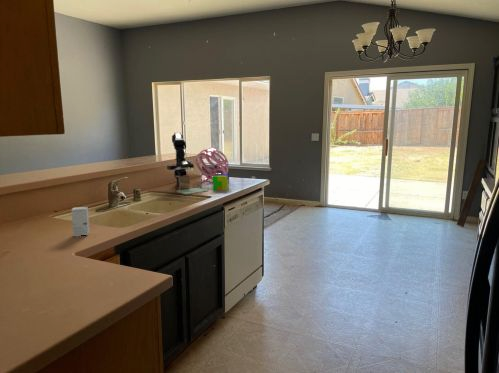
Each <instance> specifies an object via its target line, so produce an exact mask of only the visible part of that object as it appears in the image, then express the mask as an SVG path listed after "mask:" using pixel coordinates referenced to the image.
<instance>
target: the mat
mask: <svg viewBox="0 0 499 373" xmlns="http://www.w3.org/2000/svg"><path fill="white" fill-rule="evenodd" d="M175 192H177V193H180V194H182V195H185V196H187V195H192V193H193V194H197V193H198V194H199V193H206V192H209V189H204V188H201V187H194V188H190V189H185V190H179V189H178V190H176V191H175Z"/></svg>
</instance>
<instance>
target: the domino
mask: <svg viewBox="0 0 499 373" xmlns="http://www.w3.org/2000/svg"><path fill="white" fill-rule="evenodd" d="M178 178H179V186H178V190H185V189H191V186H190V185H191V183H190V175H189V174H186V175H184V176H178Z"/></svg>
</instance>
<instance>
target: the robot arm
mask: <svg viewBox="0 0 499 373" xmlns="http://www.w3.org/2000/svg"><path fill="white" fill-rule="evenodd" d="M171 141H172V144H173V145H172V146H173V148H174V150H175V165H174V164H168V165H167V166H166V169H167V170H170V171H173V174H174V176H173V177H174V179H176V181H175V182H176V183H175V184H174V186H178V187H179V178H178V176H184V175H187V169H188V168H190V169H193V168H195V164H194V163H191V160H186V158H185V157H186V156H185V155H186V152H185V151H184V150H186V148H187V143H186V140H185V139H184V135H183V134H182V132H181V131H180V132H179V131H178V132H174V134H172V135H171Z"/></svg>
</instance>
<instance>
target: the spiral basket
mask: <svg viewBox="0 0 499 373" xmlns="http://www.w3.org/2000/svg"><path fill="white" fill-rule="evenodd" d="M209 152H210V153H209ZM203 156H204V157H205V160H206V162H208V164H209V165H211V167H213V169H211V168H210V167H209V166H208V165H207V164H206V162H205V161H204V159H203ZM216 156H217V157H216ZM198 158H199V162H200V163H201V165H202V167H203V168H204V169H205V170H206V171H207V172H209V174H208V173H206V172H205V171H204V170H203V169H202V167H201V166H200V164H199V163H198ZM212 160H213V161H214V162H215V163H216V164H215V163H214V162H213V161H212ZM194 163H195V165H196V167H197V169H198V171H199V172H200V173H201V174H202V175H204V176H205V177H206V178H205V179H202V178H201V179H200V181H201V182H203V183H205V182H207V183H209V184H213V176H214V175H215V174H220V173H218V172H217V171H222V174H229V173H228V172H229V165H230V164H229V160H228V158H227V156H226V155H225V154H224V153H223V152H222V151H220V150H218V149H216V148H208V149H203V150H201V151H200V152H199V153H198V154H196V155H195V158H194ZM224 165H225V167H224ZM210 180H211V181H210Z"/></svg>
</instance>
